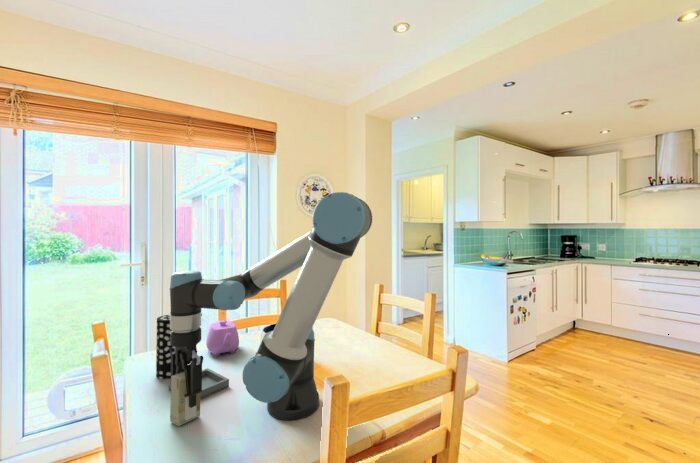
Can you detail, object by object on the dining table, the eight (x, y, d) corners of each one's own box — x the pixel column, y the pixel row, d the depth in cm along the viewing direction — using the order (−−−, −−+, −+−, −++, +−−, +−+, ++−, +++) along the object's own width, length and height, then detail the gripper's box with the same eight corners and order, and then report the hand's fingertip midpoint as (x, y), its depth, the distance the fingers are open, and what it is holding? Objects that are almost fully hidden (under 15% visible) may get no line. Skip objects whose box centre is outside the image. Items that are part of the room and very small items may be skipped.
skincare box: (178, 427, 83) (178, 380, 83) (169, 421, 85) (169, 376, 85) (201, 415, 88) (201, 371, 88) (192, 410, 91) (192, 367, 91)
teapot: (202, 346, 139) (203, 317, 139) (232, 341, 146) (232, 313, 146) (211, 363, 122) (211, 330, 122) (244, 356, 129) (244, 325, 129)
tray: (228, 386, 105) (228, 379, 105) (189, 404, 94) (189, 395, 94) (207, 375, 113) (207, 368, 112) (168, 390, 102) (168, 382, 102)
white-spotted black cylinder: (171, 380, 108) (171, 321, 108) (150, 377, 110) (150, 319, 110) (188, 369, 117) (189, 315, 116) (168, 367, 118) (169, 313, 118)
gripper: (217, 331, 84) (216, 419, 85) (184, 319, 95) (183, 397, 95) (188, 339, 78) (188, 433, 79) (156, 325, 89) (156, 409, 89)
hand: (185, 414), depth 87 cm, fingers closed on skincare box, 4 cm apart
